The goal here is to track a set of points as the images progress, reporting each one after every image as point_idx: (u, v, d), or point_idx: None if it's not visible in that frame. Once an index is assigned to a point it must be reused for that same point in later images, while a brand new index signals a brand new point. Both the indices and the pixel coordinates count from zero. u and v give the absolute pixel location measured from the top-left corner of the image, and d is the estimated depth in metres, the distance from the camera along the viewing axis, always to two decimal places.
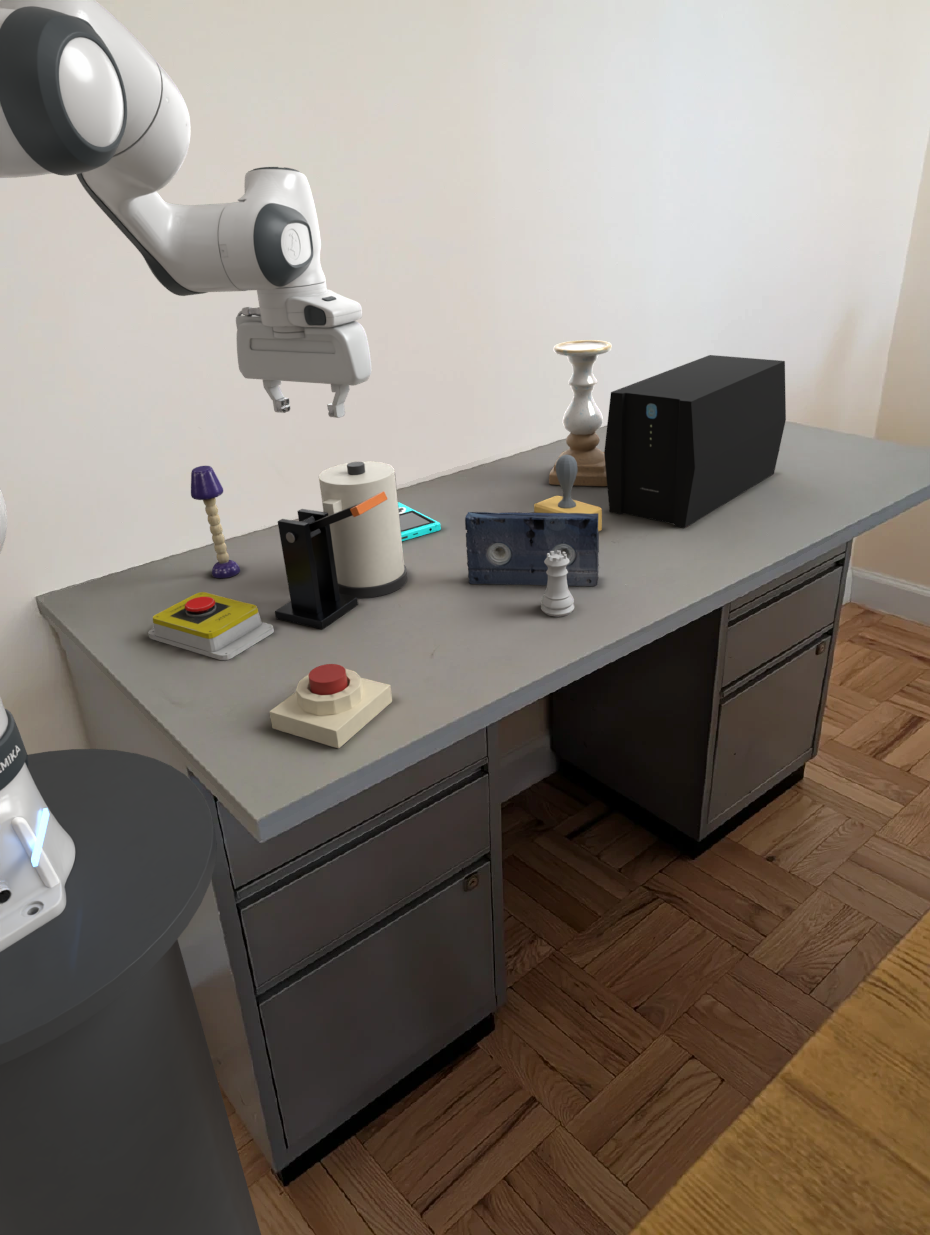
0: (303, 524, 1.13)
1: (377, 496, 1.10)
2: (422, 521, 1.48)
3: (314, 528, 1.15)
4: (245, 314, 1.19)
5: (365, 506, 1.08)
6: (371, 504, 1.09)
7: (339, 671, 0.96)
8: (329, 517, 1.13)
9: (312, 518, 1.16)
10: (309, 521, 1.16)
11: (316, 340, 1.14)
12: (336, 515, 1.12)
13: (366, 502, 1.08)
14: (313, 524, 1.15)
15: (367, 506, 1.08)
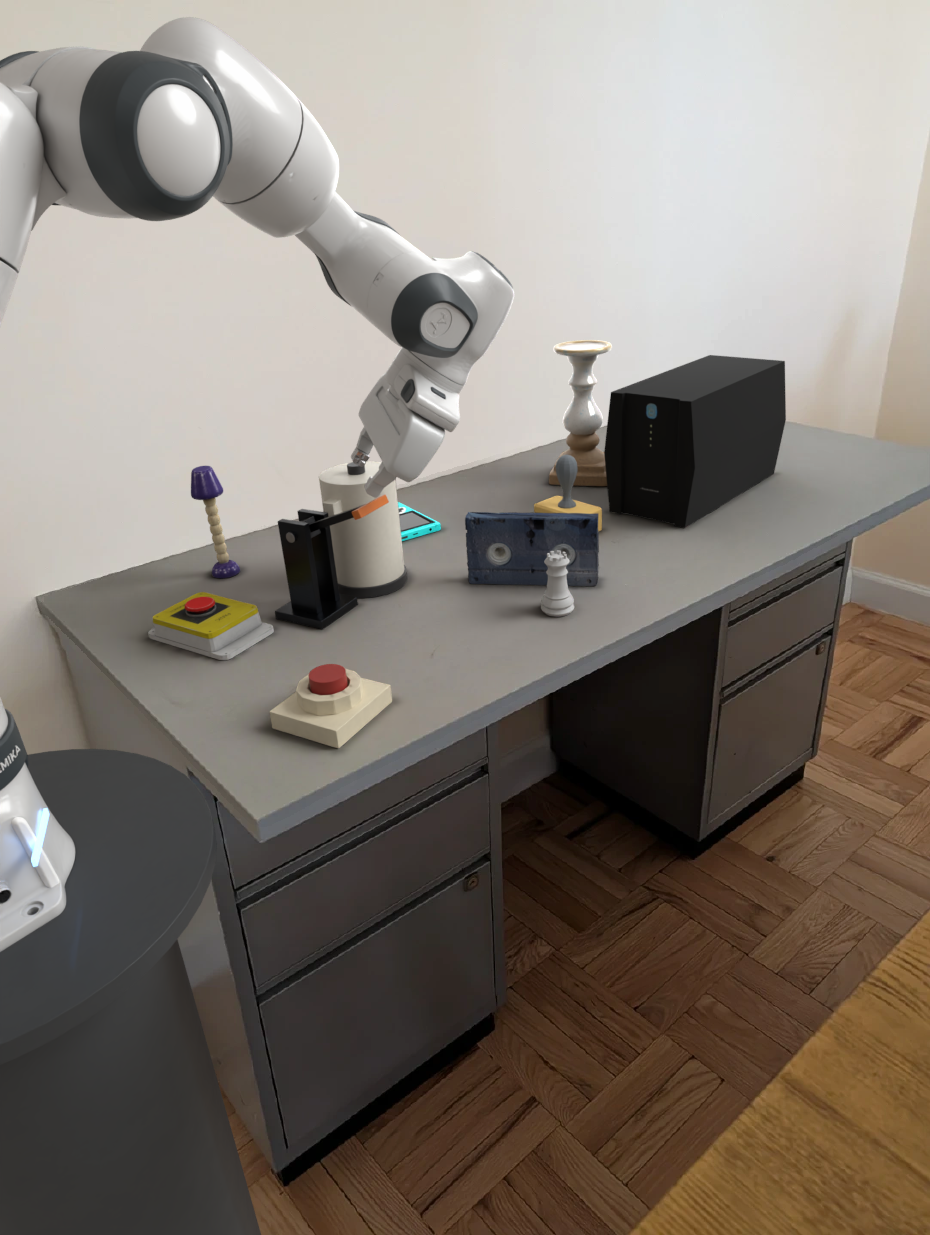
0: (303, 524, 1.13)
1: (378, 499, 1.10)
2: (422, 521, 1.48)
3: (314, 529, 1.15)
4: None
5: (366, 509, 1.08)
6: (372, 507, 1.09)
7: (339, 671, 0.96)
8: (330, 518, 1.13)
9: (312, 518, 1.16)
10: (309, 521, 1.16)
11: (401, 416, 1.06)
12: (337, 517, 1.12)
13: (368, 505, 1.08)
14: (313, 525, 1.15)
15: (368, 509, 1.08)
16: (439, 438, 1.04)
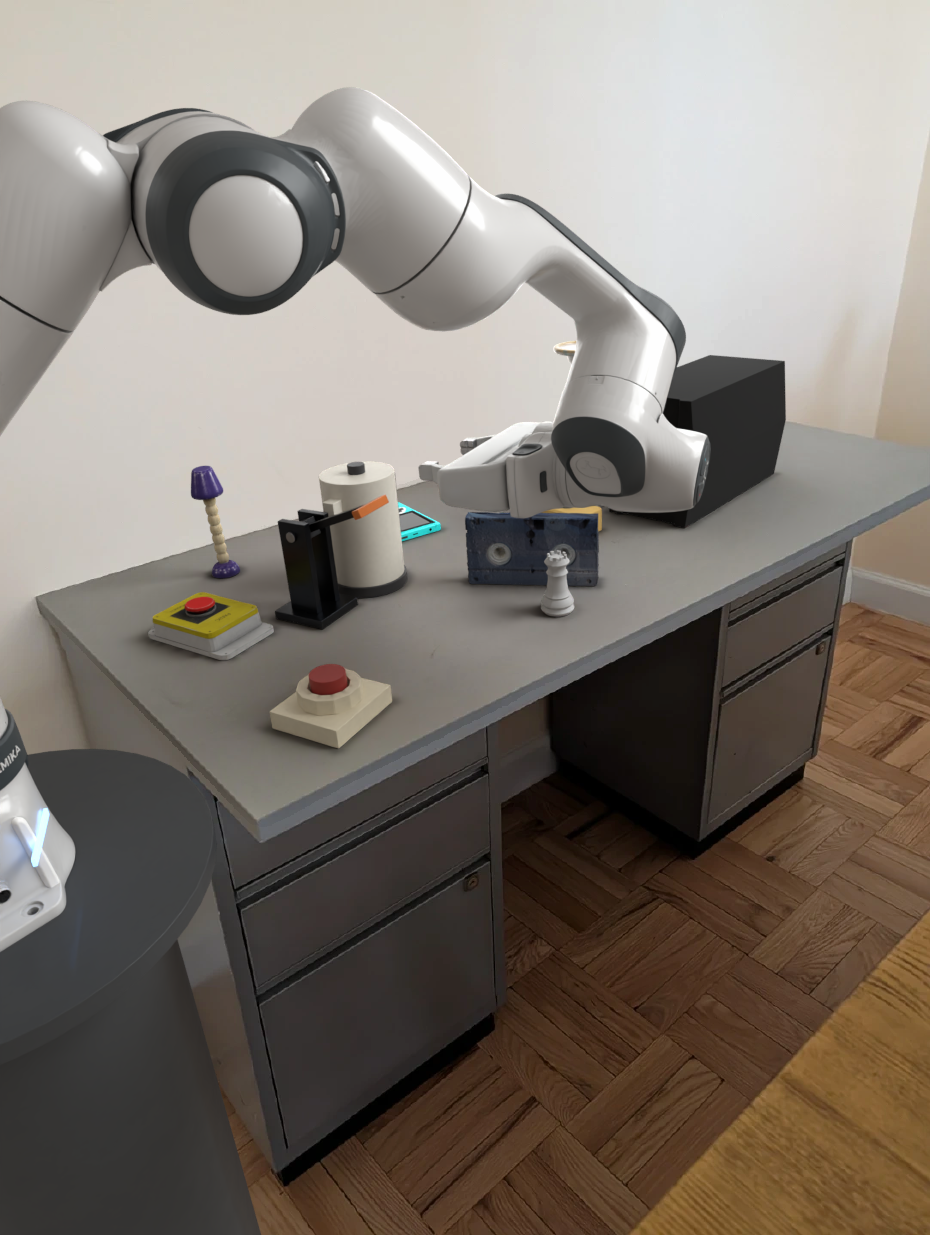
0: (303, 524, 1.13)
1: (379, 499, 1.10)
2: (422, 521, 1.48)
3: (314, 529, 1.15)
4: None
5: (366, 509, 1.08)
6: (372, 507, 1.09)
7: (339, 671, 0.96)
8: (330, 518, 1.13)
9: (312, 518, 1.16)
10: (309, 521, 1.16)
11: None
12: (337, 517, 1.12)
13: (368, 505, 1.08)
14: (313, 525, 1.15)
15: (368, 509, 1.08)
16: (495, 506, 0.90)
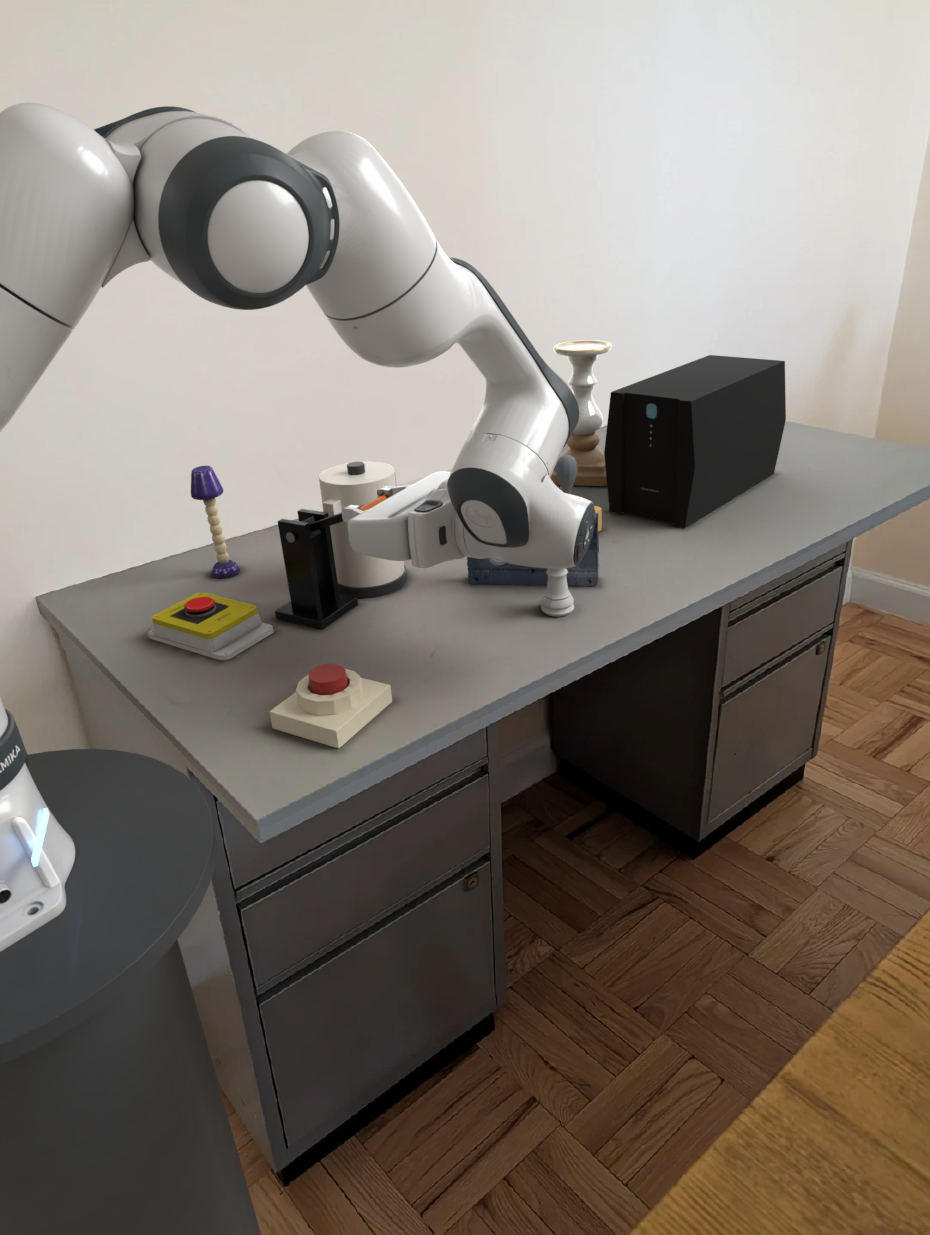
0: (303, 524, 1.13)
1: (379, 499, 1.10)
2: None
3: (314, 529, 1.15)
4: None
5: (366, 509, 1.08)
6: None
7: (339, 671, 0.96)
8: (330, 518, 1.13)
9: (312, 518, 1.16)
10: (309, 521, 1.16)
11: None
12: (337, 517, 1.12)
13: (368, 505, 1.08)
14: (313, 525, 1.15)
15: None
16: (398, 556, 0.99)
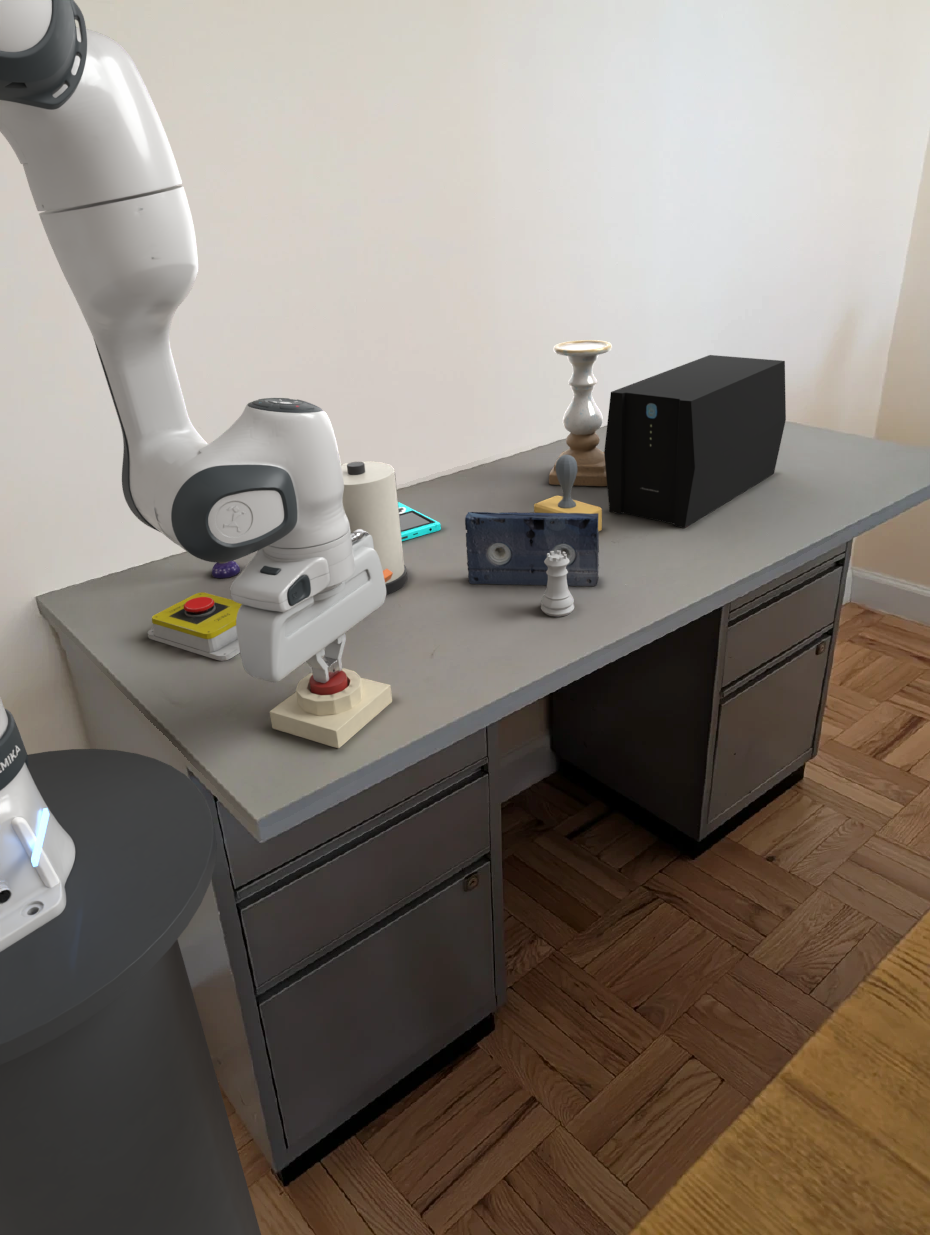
0: None
1: (385, 578, 1.15)
2: (422, 521, 1.48)
3: None
4: None
5: None
6: None
7: (340, 676, 0.96)
8: None
9: None
10: None
11: None
12: None
13: None
14: None
15: None
16: (268, 624, 0.84)
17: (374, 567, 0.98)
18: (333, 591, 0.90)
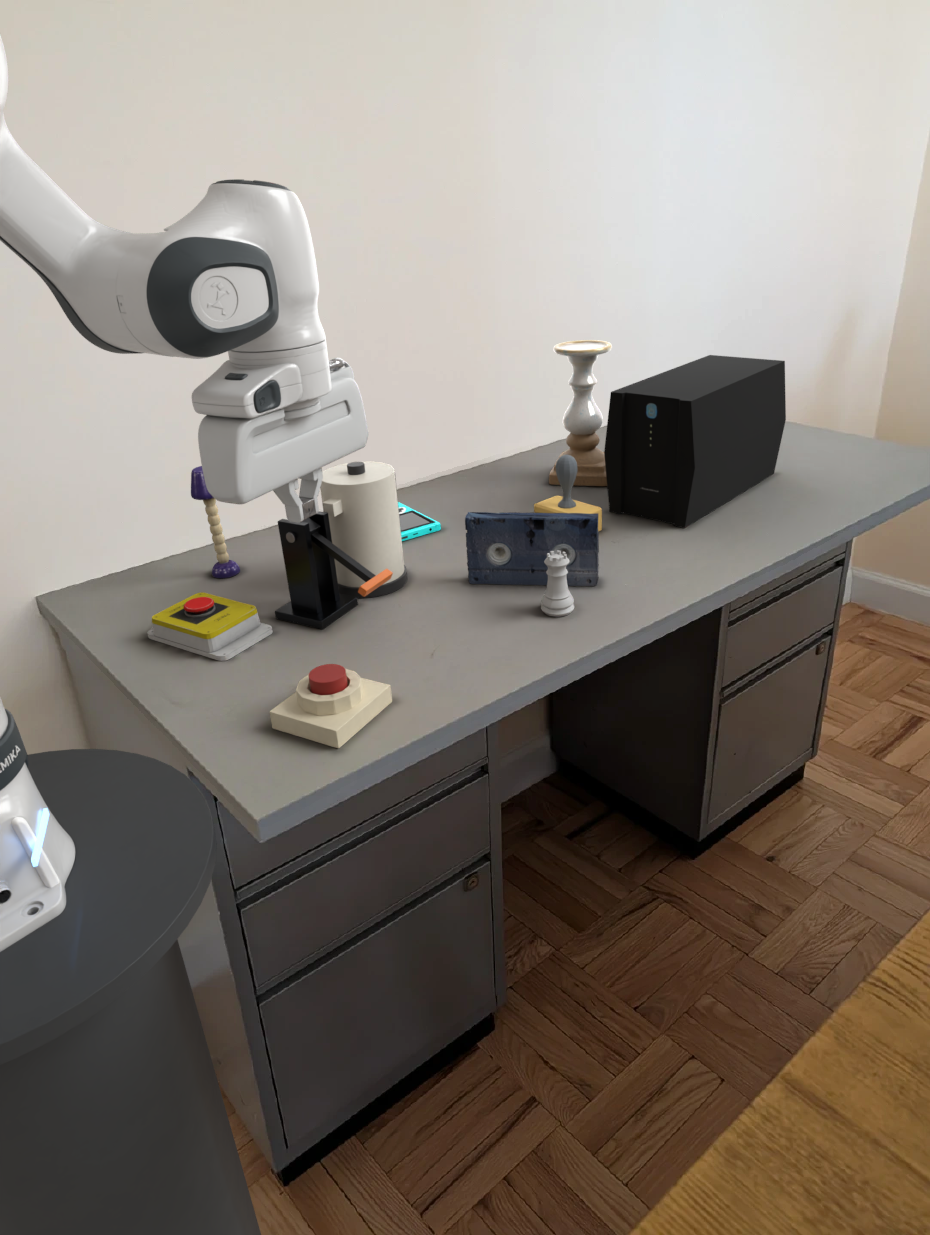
0: (303, 524, 1.13)
1: (385, 578, 1.15)
2: (422, 521, 1.48)
3: (314, 542, 1.16)
4: None
5: (372, 589, 1.13)
6: (377, 586, 1.14)
7: (339, 671, 0.96)
8: (335, 553, 1.15)
9: (318, 528, 1.17)
10: (314, 531, 1.16)
11: None
12: (342, 559, 1.15)
13: (375, 585, 1.13)
14: (316, 540, 1.16)
15: (373, 588, 1.14)
16: (232, 432, 0.75)
17: (355, 401, 0.89)
18: (307, 410, 0.81)
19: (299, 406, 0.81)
